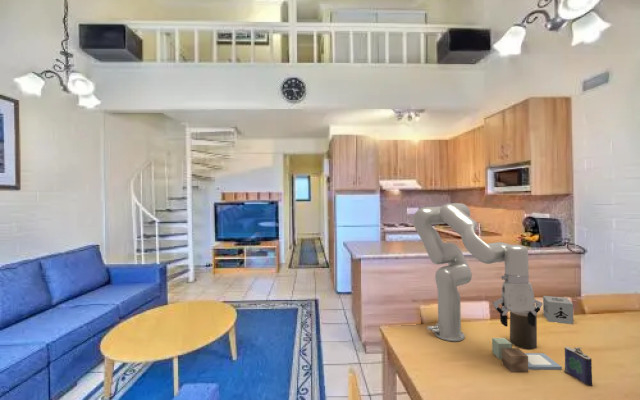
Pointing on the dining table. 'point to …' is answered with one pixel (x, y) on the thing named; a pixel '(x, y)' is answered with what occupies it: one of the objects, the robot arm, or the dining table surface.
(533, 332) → the pillar candle
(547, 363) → the blueprint board
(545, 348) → the dining table surface
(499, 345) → the green block
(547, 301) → the icon cube
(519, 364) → the walnut block
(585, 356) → the flask
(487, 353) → the dining table surface
